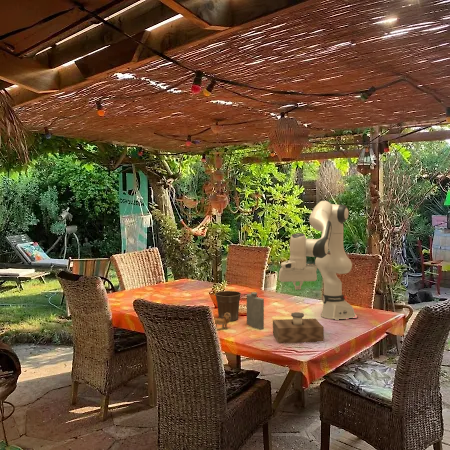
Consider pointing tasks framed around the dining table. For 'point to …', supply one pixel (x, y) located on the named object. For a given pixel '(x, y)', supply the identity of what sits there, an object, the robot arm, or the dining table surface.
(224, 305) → the plant pot
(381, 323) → the dining table surface
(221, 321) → the lion figurine
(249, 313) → the hip flask
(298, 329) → the block
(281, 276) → the robot arm
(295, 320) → the knob
